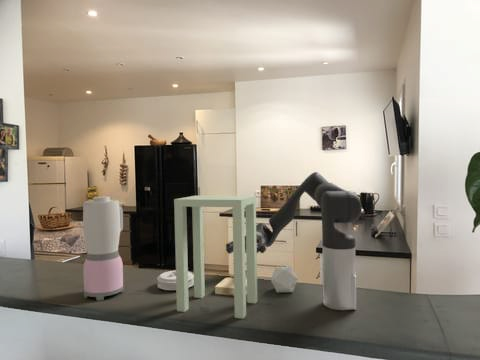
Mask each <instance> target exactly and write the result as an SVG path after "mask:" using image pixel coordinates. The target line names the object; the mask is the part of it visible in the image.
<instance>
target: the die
mask: <svg viewBox="0 0 480 360" xmlns="http://www.w3.org/2000/svg"><path fill="white" fill-rule="evenodd" d="M270 281H271V284H272V285H273V287H274V289H275V291H276V293H279V294H280V293H293V292H294V289H295V287H296V285H297V281H298V277H297V274H296V273H295V271H294V269H293V268H292V266H275V268H274V270H273V273H272V276H271V279H270Z"/></svg>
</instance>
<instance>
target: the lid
mask: <svg viewBox="0 0 480 360" xmlns="http://www.w3.org/2000/svg"><path fill="white" fill-rule="evenodd" d="M156 279H157V288H158V289H160V290H164V291H176V270H169V271H165V272H162V273H160V275H158V276H157V278H156ZM190 287H191V288H192V287H194V273H192V272H191V271H189V270H188V289H189V288H190Z"/></svg>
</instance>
